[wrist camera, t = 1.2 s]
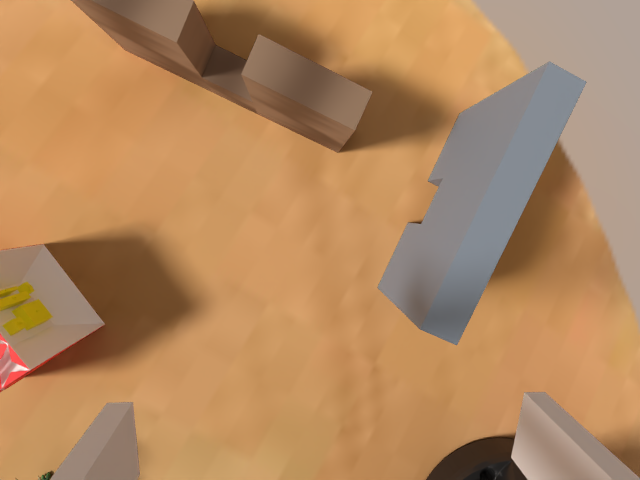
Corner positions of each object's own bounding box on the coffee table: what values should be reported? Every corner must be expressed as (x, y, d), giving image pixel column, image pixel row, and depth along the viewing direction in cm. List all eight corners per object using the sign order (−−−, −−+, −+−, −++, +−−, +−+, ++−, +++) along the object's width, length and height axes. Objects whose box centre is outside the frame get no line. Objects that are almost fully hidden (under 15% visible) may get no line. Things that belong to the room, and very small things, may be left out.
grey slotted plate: (484, 126, 28) (586, 81, 18) (402, 298, 29) (457, 345, 19) (459, 113, 28) (549, 61, 18) (377, 287, 29) (419, 329, 19)
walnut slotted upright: (350, 125, 27) (372, 91, 19) (338, 152, 28) (355, 130, 20) (137, 20, 26) (65, -65, 18) (124, 49, 26) (48, -21, 18)
